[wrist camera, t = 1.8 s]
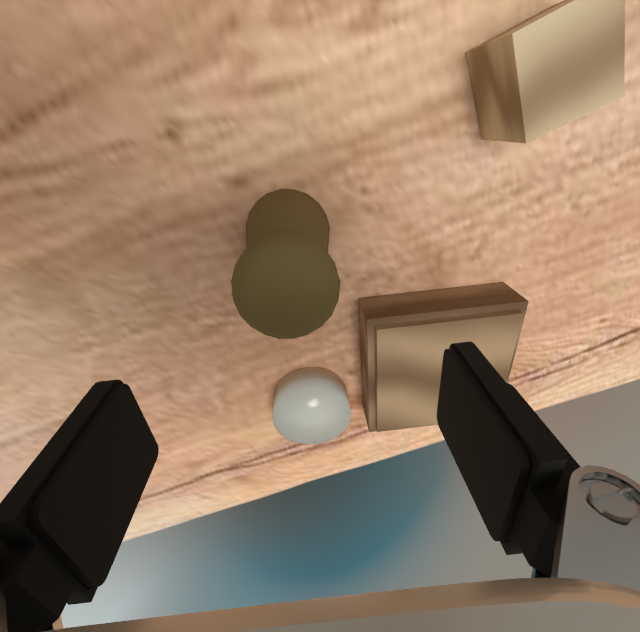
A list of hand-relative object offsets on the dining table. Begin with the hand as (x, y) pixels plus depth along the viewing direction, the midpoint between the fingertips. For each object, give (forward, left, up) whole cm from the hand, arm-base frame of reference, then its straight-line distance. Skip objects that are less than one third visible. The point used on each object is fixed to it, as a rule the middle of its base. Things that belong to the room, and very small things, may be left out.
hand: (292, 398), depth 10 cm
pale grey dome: (+16, 0, -17) cm, 23 cm away
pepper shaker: (0, 0, -17) cm, 17 cm away
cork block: (-8, +15, -17) cm, 24 cm away
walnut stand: (+12, +11, -17) cm, 23 cm away
